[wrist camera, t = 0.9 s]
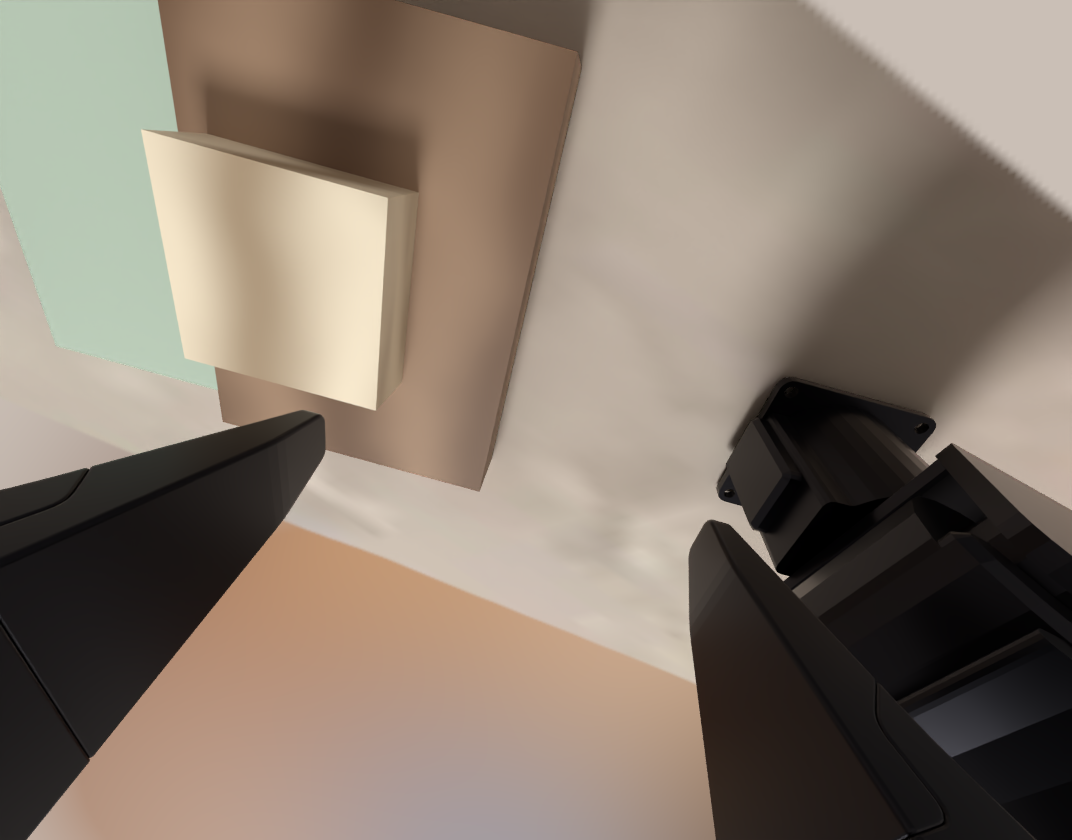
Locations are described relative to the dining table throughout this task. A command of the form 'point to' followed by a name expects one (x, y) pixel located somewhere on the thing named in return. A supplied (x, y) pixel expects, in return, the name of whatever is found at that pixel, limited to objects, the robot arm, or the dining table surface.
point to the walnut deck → (404, 161)
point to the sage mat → (91, 175)
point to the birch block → (284, 265)
